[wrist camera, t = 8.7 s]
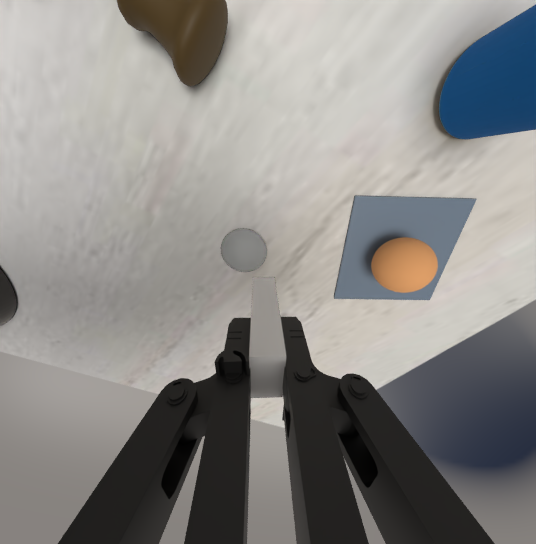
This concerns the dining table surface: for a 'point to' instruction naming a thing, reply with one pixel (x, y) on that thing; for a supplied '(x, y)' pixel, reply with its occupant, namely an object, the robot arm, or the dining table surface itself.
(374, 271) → the ball
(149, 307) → the dining table surface
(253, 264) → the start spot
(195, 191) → the dining table surface
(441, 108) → the beverage can
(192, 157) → the dining table surface
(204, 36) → the kendama
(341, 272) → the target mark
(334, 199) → the dining table surface
